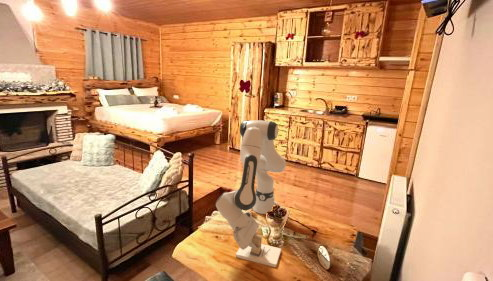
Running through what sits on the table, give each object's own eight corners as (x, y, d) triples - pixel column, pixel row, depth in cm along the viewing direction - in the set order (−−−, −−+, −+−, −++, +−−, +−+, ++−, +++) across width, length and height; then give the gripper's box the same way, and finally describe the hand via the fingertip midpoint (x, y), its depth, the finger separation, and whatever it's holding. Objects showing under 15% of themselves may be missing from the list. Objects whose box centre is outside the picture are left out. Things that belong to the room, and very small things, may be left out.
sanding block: (252, 249, 129) (253, 233, 127) (261, 251, 128) (262, 235, 126) (250, 254, 125) (250, 238, 123) (259, 257, 124) (260, 241, 122)
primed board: (244, 242, 137) (244, 239, 137) (281, 251, 131) (281, 248, 131) (235, 256, 125) (235, 254, 125) (275, 267, 119) (276, 264, 119)
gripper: (236, 230, 115) (256, 254, 114) (250, 210, 134) (267, 231, 133) (227, 237, 117) (246, 261, 116) (241, 216, 136) (258, 237, 135)
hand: (257, 245), depth 125 cm, fingers open, 4 cm apart
